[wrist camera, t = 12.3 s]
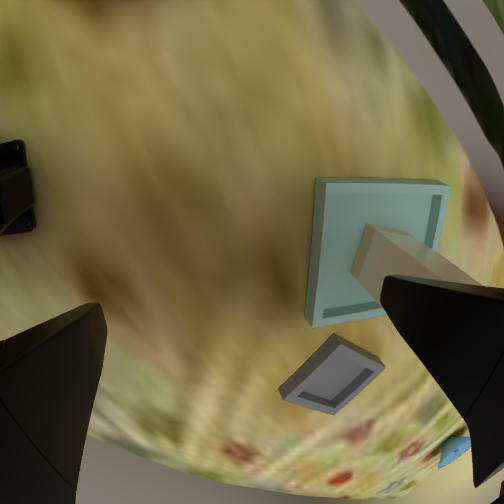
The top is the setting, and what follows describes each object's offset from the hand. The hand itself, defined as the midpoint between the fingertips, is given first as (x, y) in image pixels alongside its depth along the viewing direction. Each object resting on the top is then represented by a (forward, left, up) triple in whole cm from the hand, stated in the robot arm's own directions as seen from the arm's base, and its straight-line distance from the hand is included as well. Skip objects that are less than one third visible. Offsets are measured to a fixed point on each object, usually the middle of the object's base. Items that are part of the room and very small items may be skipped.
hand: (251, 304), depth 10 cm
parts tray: (+13, -5, -13) cm, 19 cm away
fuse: (+13, -5, -13) cm, 19 cm away
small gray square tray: (+11, -19, -13) cm, 26 cm away
